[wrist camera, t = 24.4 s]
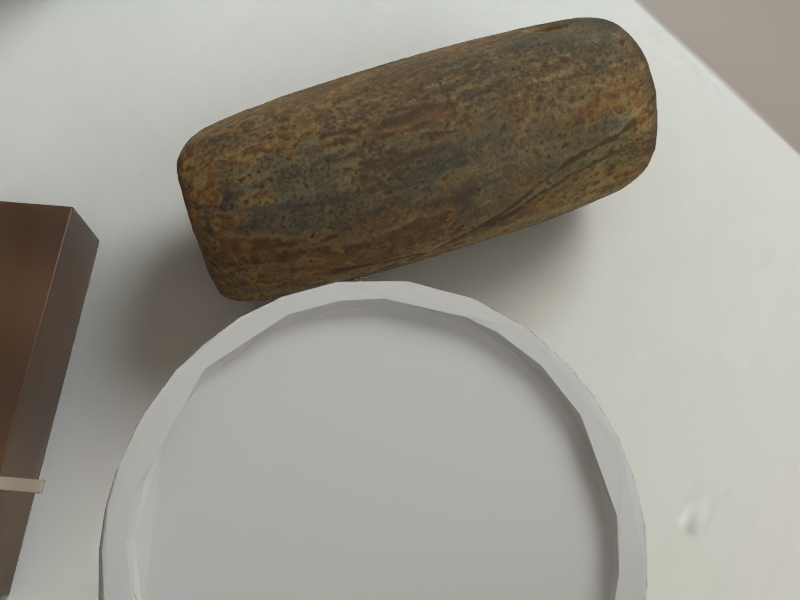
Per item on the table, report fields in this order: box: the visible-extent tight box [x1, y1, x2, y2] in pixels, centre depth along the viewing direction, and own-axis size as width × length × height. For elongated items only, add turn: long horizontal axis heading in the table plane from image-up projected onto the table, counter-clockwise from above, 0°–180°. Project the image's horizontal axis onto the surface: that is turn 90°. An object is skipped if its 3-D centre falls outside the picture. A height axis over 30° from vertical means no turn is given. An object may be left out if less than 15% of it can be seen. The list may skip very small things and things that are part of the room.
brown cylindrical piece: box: [177, 18, 657, 301], centre depth 25 cm, size 15×7×7 cm, turn 112°
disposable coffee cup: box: [99, 281, 647, 600], centre depth 17 cm, size 10×10×12 cm
